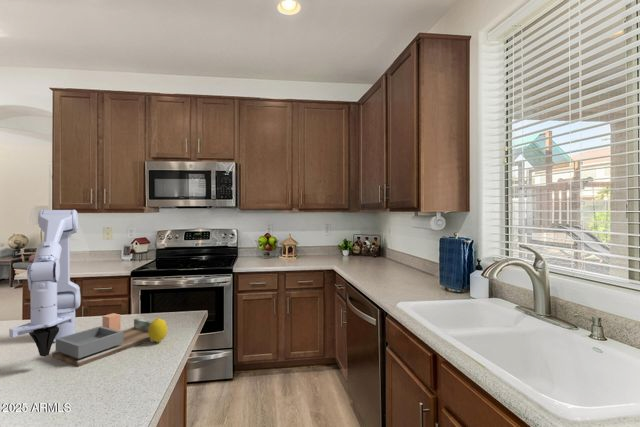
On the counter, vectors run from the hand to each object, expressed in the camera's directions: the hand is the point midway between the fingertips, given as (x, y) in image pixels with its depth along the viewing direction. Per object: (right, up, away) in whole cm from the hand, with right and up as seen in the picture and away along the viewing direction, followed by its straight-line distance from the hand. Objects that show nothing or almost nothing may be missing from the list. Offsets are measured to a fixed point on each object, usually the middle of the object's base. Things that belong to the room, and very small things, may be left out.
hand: (44, 355), depth 95 cm
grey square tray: (+6, -3, +11) cm, 12 cm away
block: (+1, -4, +29) cm, 29 cm away
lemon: (+22, -4, +19) cm, 29 cm away
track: (+9, -4, +16) cm, 19 cm away
